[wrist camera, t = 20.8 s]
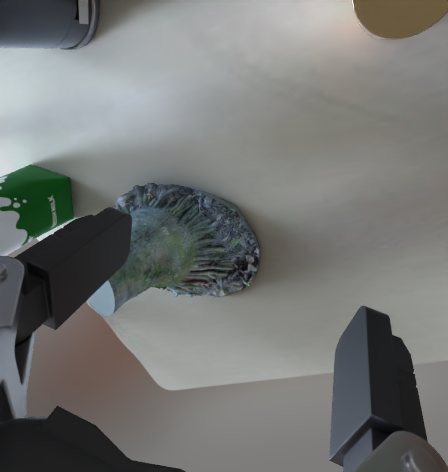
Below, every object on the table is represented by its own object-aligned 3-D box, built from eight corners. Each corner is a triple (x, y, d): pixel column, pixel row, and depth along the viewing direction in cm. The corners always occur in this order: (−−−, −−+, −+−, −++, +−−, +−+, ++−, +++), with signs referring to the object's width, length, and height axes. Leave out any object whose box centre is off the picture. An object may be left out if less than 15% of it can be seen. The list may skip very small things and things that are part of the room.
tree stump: (228, 317, 51) (143, 403, 37) (140, 236, 56) (37, 287, 42) (287, 235, 39) (195, 317, 26) (171, 143, 44) (43, 172, 31)
